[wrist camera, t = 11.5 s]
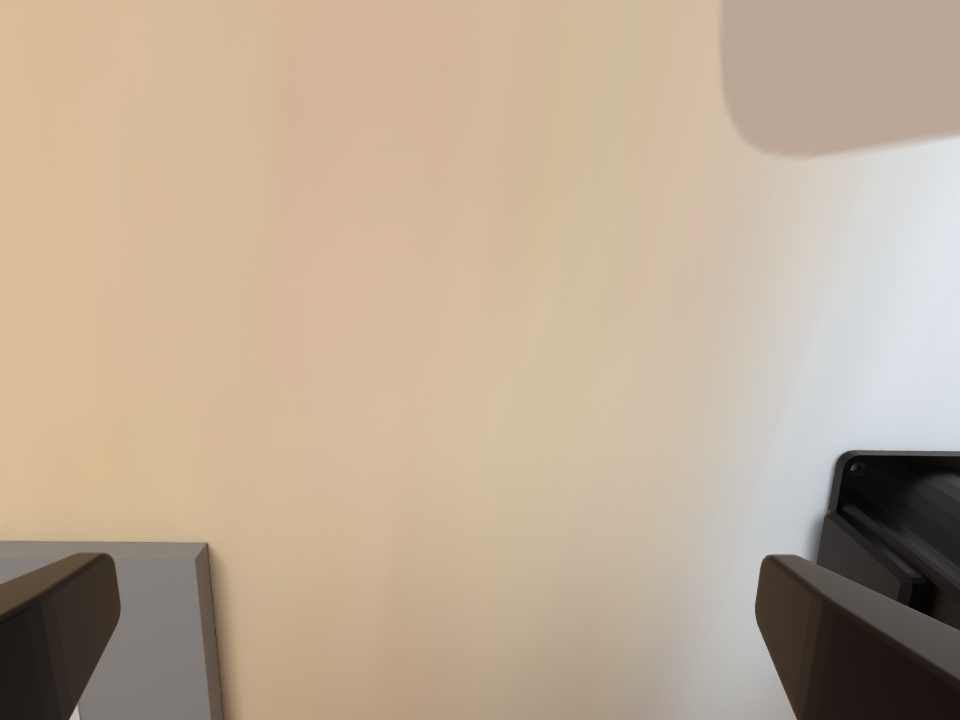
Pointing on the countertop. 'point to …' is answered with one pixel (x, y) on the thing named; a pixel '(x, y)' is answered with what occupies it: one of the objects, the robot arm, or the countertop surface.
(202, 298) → the countertop surface
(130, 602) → the mat
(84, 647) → the robot arm
